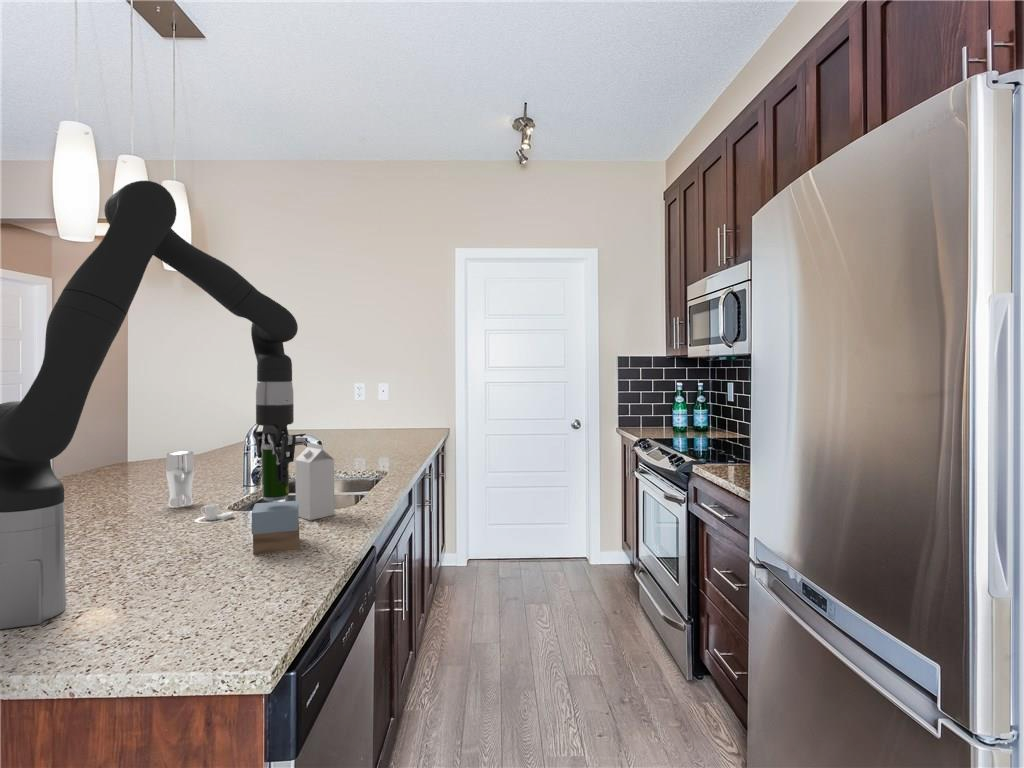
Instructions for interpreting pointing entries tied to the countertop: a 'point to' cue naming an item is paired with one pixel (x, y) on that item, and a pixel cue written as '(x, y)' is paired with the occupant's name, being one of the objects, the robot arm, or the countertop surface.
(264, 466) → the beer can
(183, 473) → the beer glass
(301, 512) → the milk carton
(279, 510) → the slate-blue block
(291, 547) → the walnut block
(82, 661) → the countertop surface
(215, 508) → the teacup and saucer
